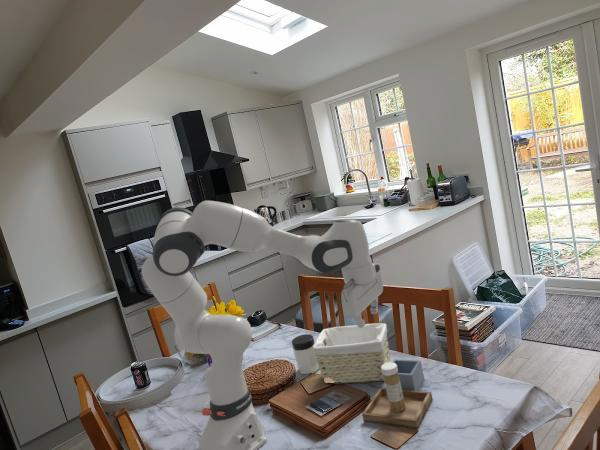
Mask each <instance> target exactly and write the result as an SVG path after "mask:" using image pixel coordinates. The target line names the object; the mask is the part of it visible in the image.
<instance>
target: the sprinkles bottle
mask: <svg viewBox="0 0 600 450" xmlns="http://www.w3.org/2000/svg"><path fill="white" fill-rule="evenodd" d="M381 370H382V374H383V376H384V385H385V388H386V391H387V396H388V399H389V403H390V409H391V410H392V411H394V412H400V411H403V410H404V409H405V407H406V405H405V403H404V398H403V392H402V388H401V383H400V380H399V375H398V368H397V365H396V364H395V363H393V361H390V362H388V363H385V364H383V365H382V366H381Z"/></svg>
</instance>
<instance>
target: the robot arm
mask: <svg viewBox="0 0 600 450" xmlns="http://www.w3.org/2000/svg"><path fill="white" fill-rule="evenodd" d="M154 232H155V233H154V237H153V239H154V240H153V248H152V255H150V256H149V257H147V259H145V261H144V262H143V264H142V267H141V275H142V278H143V280H144V282H145V283H146V285H147V287H148V289H149V291H150V292H151V293H152V295H153V296H154V298H155V299H156V301H158V303H160V305H161V307H163V308H164V310H165V311H166V313H167V314H169V316H170V317H171V319H172V321H173V322H174V324H175V327H174V331H173V339H174V342H175V345H176V346H177V348H179V349H180V350H182V351H185V352H188V353H191V354H201V355H202V354H203V355H204V354H205V355H209V356H210V357H211V363H212V364H211V366H210V367H209V368H208V369H207V371H206V372H205V376H204V382H205V384H206V388H207V391H208V395H209V398H210V400H209V408H207V407H203V408H202V410H201V414H202V415H203V416H207V417H209V419H208V420H207V422H206V425H205V428H204V429H203V432H202V434H201V436H200V437H199V438H200V439H199V440H198V448H199V449H198V450H258V449H259V448H260V447H262V446H263V445H265V444H266V443H267V442H268V438H267V437H266V434H265V432H266V430H265V427H264V425H263V424H262V423H261V420H260V418H259V417H258V415H257V413H256V410H255V408H254V405H253V402H252V401H253V399H252V394H251V392H250V389H249V387H248V385H247V382H246V378H245V372H244V369H243V356H244V353H245V352H246V350H247V349H248V348H249V346H250V345H251V342H252V338H253V331H252V330H253V329H252V326H251V324H250V322H249V321H248V319H246V318H244V317H241V316H237V315H233V314H211V313H209V312H208V311H206V307H207V303H208V295H207V293H206V291H205V290H204V289H203V287H202V286H201V284H199V282H198V281H197V279H196V278H195V277H194V276H193V274H192V273H191V272H190V271H191V270H192V269H193V267H194V266H195V264H196V263H197V261H198V260H199V259H200V258H201V257H202V256H203V254H204V253H205V252H206V249H205V248H206V247H205V246H208V245H217V246H219V247H220V246H221V247H224V248H226V249H229V250H234V251H238V252H245V253H256V252H258V251H260V250H269V251H272V252H273V251H274V252H277V253H280V254H284V255H287V256H290V257H292V258H293V259H295V260H296V261H297V262H298V263H299V264H300V265H301V266H303V267H305V268H308V269H310V270H311V269H312V270H314V271H316V272H318V273H320V274H326V275H327V274H333V273H334V272H337V271H339V270H340V269H341V272H342V278H343V281H344V285H343V289H342V291H341V293H340V294H341V295H340V297H341V299H340V300H341V305H342V306H341V307H342V312H343V315H344V317H345V318H347V319H348V318H349V319H354V321H355V322H356V325H357V326H358V327H359V328H363V327H364V326H365V324H366V321H365V319H363V317H362V316H363V314H362V312H364V311H365V310H366V309H367V308H368V307H369V306H370V308H369V310H370V314H371V315H376V314H377V313H379V308H378V305H379V304H378V303H379V296H380V295H381V294H382V293H383V291H384V285H383V284H384V283H383V278H382V275H381V274H382V273H381V272H380V271H381V269H382V268H381V264H380V263H379V262H378V263H377V262H375V263H373V260H372V258H371V256H370V252H369V247H370V245H369V241H368V238H367V233H366V231H365V228H364V225H363V223H362V222H361V221H360V220H358V219H355V218H342V219H337V220H335V221H334V222H333V224H332V225H331V227H330V228H329V229H328V230H327V231H326V232H325V233H323V234H322V235H319V234H316V233H308V234H301V235H300V234H294V233H291V232H288V231H286V230H282V229H279V228H276V227H274V226H272V225H271V224H270V222H268V221H267V219H266V218H265V217H263V216H262V215H260V214H259V213H257V212H254V211H252V210H250V209H248V208H244V207H242V206H239V205H235V204H232V203H227V202H223V201H222V202H221V201H217V200H216V201H215V200H203V201H201V202H199V203H198V204H197V206H196V207H195V208H194V209H193V212H192V211H191V210H189V209H187V208H184V207H179V206H177V207H176V206H175V207H172V208H170V209H168V210H166V211H165V212H164V213H163V214H162V215H161V217H160V218H159V220H158V223H157V227H156V229H155V231H154Z"/></svg>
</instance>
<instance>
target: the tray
mask: <svg viewBox="0 0 600 450" xmlns="http://www.w3.org/2000/svg"><path fill="white" fill-rule="evenodd" d="M402 392H403V398H404V403H405V405H406V407H405V409H404V410H403V411H400V412H394V411H392V410H391V409H390V403H389V399H388V396H387V391H386V387H380V388H379V389H378V390H377V392H376V393H375V395H374V396H373V398H372V399H371V400H370V402H369V404H368V405H367V406H366V408H365V409H364V411H363V412H362V413H361V414H362V415H361V416H362V419H363V422H364V423H365V422H366V423H370V424H371V423H372V424H380V425H387V426H394V427H400V426H403V427H402V428H408V427H411V428H410V429H417V430H418V429H419V428H420V425H421V424H422V422H423V420H424V417H425V415H426V413H427V412H428V409H429V407H431V406H430V405H431V403H432V401H433V400H434V398H433V394H432V391H425V390H424V391H423V390H418V391H414V390H402ZM404 426H405V427H404Z"/></svg>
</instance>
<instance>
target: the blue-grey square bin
mask: <svg viewBox="0 0 600 450" xmlns="http://www.w3.org/2000/svg"><path fill="white" fill-rule="evenodd" d="M392 362H393V363H395V364H396V365H397V368H398V375H399V380H400V383H401V388H402V390H414V391H420V388H421V387H422V385H423V384H424V381H425V375H424V370H423V365H422V360H416V359H414V360H413V359H399V358H398V359H393V360H392Z"/></svg>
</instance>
